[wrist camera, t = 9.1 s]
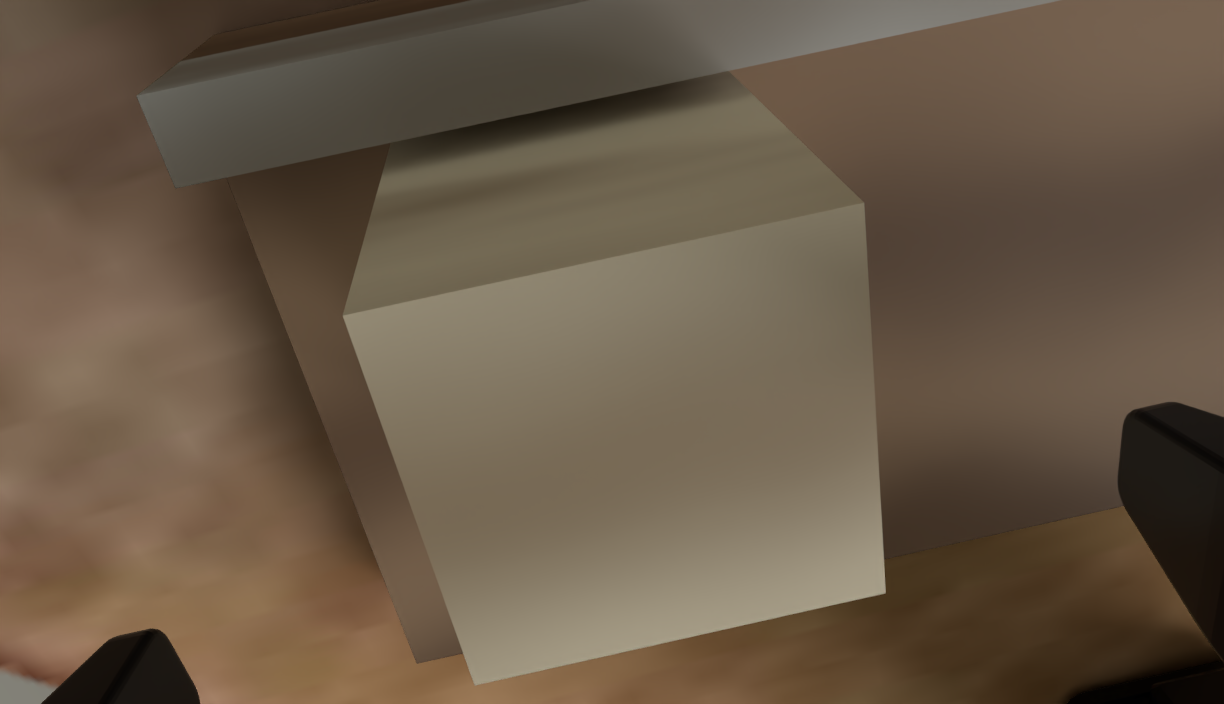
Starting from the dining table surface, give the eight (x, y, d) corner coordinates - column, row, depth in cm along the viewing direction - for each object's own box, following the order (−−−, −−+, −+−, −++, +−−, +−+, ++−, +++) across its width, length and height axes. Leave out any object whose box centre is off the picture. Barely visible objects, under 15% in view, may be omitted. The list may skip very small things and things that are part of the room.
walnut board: (1653, 321, 22) (1878, 416, 18) (422, 594, 21) (410, 747, 18) (1906, -320, 16) (2311, -363, 12) (215, 34, 15) (137, 96, 12)
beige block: (771, 456, 18) (892, 717, 13) (505, 515, 18) (516, 802, 13) (723, 66, 14) (864, 202, 9) (392, 136, 14) (342, 315, 9)
